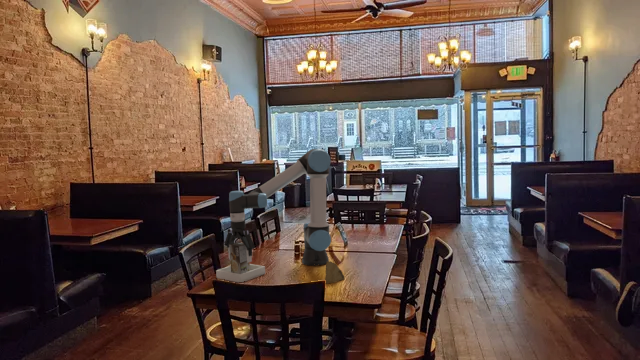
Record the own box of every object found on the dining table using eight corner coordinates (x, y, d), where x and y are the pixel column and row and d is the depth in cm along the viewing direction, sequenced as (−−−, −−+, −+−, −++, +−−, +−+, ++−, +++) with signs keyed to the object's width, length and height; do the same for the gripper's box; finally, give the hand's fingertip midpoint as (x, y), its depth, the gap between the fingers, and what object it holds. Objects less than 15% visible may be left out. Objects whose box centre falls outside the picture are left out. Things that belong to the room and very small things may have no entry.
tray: (265, 273, 252) (264, 266, 252) (240, 282, 238) (240, 275, 237) (241, 269, 263) (241, 262, 262) (216, 277, 248) (216, 270, 248)
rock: (344, 272, 240) (324, 270, 240) (346, 261, 235) (326, 259, 235) (344, 290, 232) (323, 288, 232) (345, 279, 226) (325, 277, 226)
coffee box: (250, 273, 249) (249, 243, 248) (240, 276, 245) (239, 246, 244) (240, 271, 256) (238, 241, 254) (230, 273, 251) (228, 244, 250)
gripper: (216, 220, 252) (218, 259, 254) (249, 223, 237) (252, 265, 239) (226, 217, 258) (229, 256, 260) (260, 220, 243) (262, 261, 245)
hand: (240, 260), depth 250 cm, fingers open, 13 cm apart
